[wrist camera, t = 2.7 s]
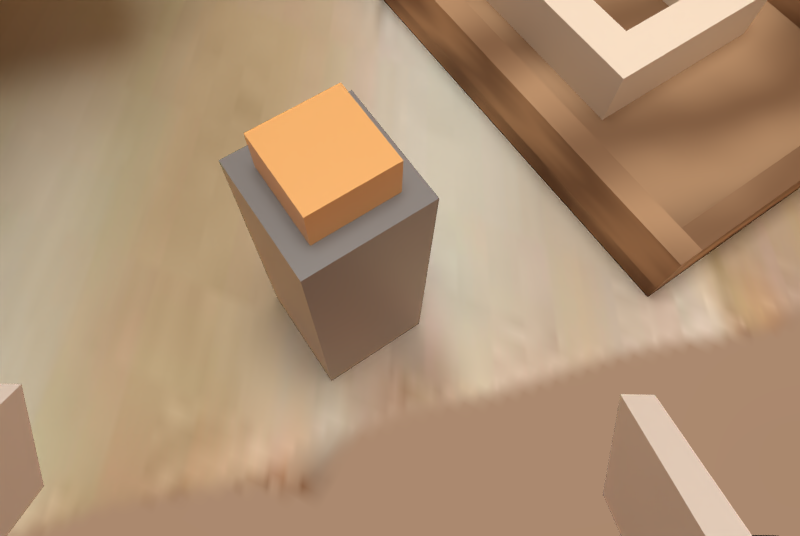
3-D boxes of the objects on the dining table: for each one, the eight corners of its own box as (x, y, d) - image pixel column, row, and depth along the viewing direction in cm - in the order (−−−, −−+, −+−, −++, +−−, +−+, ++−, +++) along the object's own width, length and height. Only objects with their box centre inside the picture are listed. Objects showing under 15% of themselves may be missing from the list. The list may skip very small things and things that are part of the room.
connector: (277, 297, 28) (204, 126, 17) (362, 246, 29) (349, 52, 18) (331, 380, 27) (292, 256, 15) (418, 323, 28) (444, 167, 16)
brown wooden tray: (337, -53, 37) (332, -110, 34) (573, -161, 41) (589, -221, 38) (647, 296, 29) (681, 265, 25) (901, 114, 33) (956, 68, 30)
